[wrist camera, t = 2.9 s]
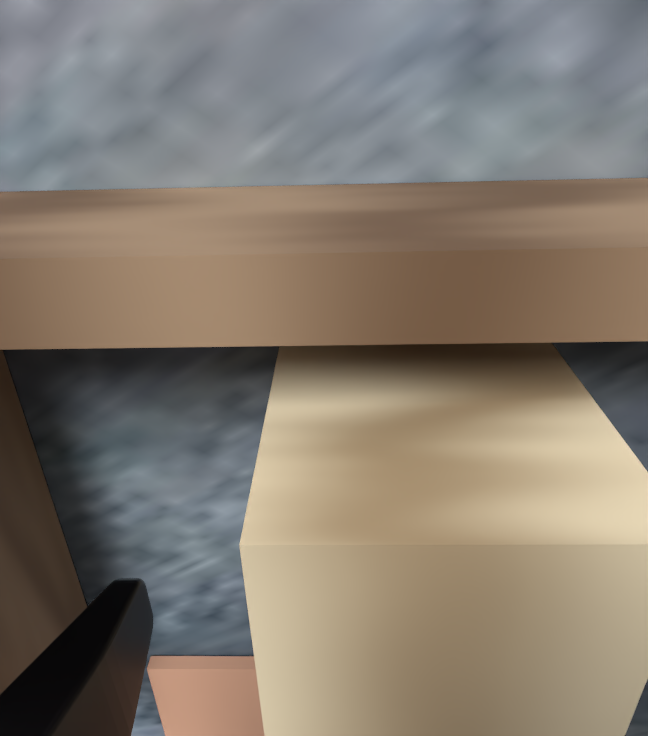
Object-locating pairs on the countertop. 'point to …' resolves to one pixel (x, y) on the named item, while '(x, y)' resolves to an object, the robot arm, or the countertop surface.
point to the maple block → (444, 547)
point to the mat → (207, 695)
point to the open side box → (287, 301)
